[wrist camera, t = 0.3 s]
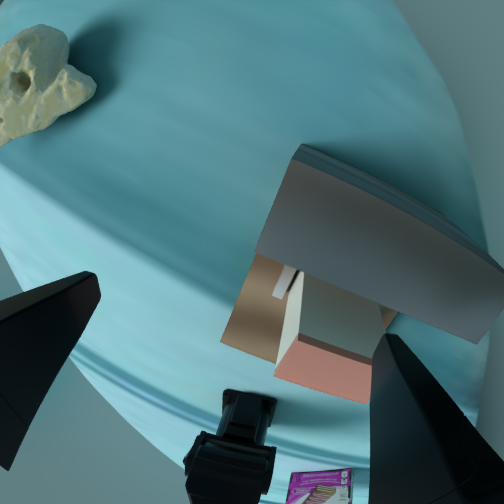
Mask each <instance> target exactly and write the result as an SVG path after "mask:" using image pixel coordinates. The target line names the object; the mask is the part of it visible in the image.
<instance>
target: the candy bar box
mask: <svg viewBox="0 0 504 504" xmlns="http://www.w3.org/2000/svg"><path fill="white" fill-rule="evenodd" d="M352 497H353V474H352V469H351V468H349V469H341V470H331V471H319V472H302V473H291V477H290V482H289V488H288V493H287V498H286V503H285V504H352Z"/></svg>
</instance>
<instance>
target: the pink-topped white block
mask: <svg viewBox="0 0 504 504" xmlns="http://www.w3.org/2000/svg"><path fill="white" fill-rule="evenodd" d="M385 333H386V330H385V326H384V323H383V319H382V316H381V312H380V309H379V305H378V303H376V302H374V301H371V300H369V299H366V298H364V297H362V296H359V295H357V294H354V293H352V292H350V291H347V290H345V289H342V288H340V287H338V286H335V285H333V284H330V283H328V282H326V281H323V280H321V279H318V278H316V277H314V276H311V275H309V274H306V273H304V272H302V271H299V272H298V274H297V276H296V278H295V280H294V282H293V283H292V285H291V287H290V289H289V295H288V301H287V307H286V313H285V319H284V324H283V330H282V335H281V341H280V346H279V352H278V357H277V362H276V367H275V372H274V377H277V378H280V379H283V380H286V381H289V382H292V383H295V384H298V385H301V386H304V387H307V388H310V389H313V390H317V391H320V392H323V393H327V394H330V395H333V396H337V397H340V398H344V399H348V400H351V401H355V402H359V403H363V404H366V403H367V402H368V401H369V400H370V391H371V373H372V357H373V353H374V351H375V349H376V347H377V345H378V343H379V341H380V339H381V337H382V335H383V334H385Z"/></svg>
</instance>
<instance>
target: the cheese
mask: <svg viewBox="0 0 504 504" xmlns="http://www.w3.org/2000/svg"><path fill="white" fill-rule="evenodd" d="M68 56H69V43H68V40H67V36H66V35H65V34H64V33H63V32H62V31H61V30H58V29H56V28H53V27H50V26H46V25H44V24H40V25H36V26H33V27H30V28H27V29H25V30H22V31H21V32H20V33H18V34H17V35H15V36H14V37H13V38H11V39H10V40H9V41H7V42H6V43H4V44H3V45H2V46H1V47H0V147H1V146H3V145H4V144H6V143H9V142H10V141H11V140H12V139H13V138H19V137H24V136H26V135H28V134H31V133H34V132H36V131H38V130H44V129H46V128H47V127H48V126H50V125H52V124H53V123H54V122H55V120H56V119H57V118H58V117H59V116H60V115H63V114H65V113H67V112H70V111H73V110H74V109H76V108H77V107H78V106H80V105H81V104H83V103H84V102H86V101H87V100H89V99H90V98H91V97H92V96H93V95H94V93H95V91H96V88H97V84H96V83H95V82H94V80H93V79H92V77H90V76H88V75H85V74H83V73H81V72H80V71H78V70H77V69H76V68H75V67H73V66H72V65H68V63H67V61H68Z"/></svg>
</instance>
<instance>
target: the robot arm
mask: <svg viewBox="0 0 504 504" xmlns="http://www.w3.org/2000/svg"><path fill="white" fill-rule="evenodd" d="M100 299H101V292H100V287H99V283H98V278H97V276H96V274H94V273H92V272H88V271H83V272H80V273H77V274H74V275H71V276H68V277H66V278H63V279H60V280H57V281H54V282H51V283H48V284H45V285H42V286H40V287H37V288H34V289H31V290H28V291H26V292H23V293H20V294H17V295H15V296H12V297H9V298H6V299H4V300H1V301H0V466H1V467H3V468H4V469H5V470H7V471H9V470H10V467H11V465H12V463H13V461H14V459H15V456H16V454H17V452H18V450H19V447H20V445H21V443H22V441H23V439H24V437H25V435H26V432H27V431H28V429H29V426H30V424H31V422H32V420H33V418H34V416H35V414H36V412H37V410H38V408H39V407H40V405H41V403H42V401H43V399H44V397H45V396H46V394H47V392H48V390H49V388H50V387H51V385H52V383H53V381H54V380H55V378H56V376H57V374H58V373H59V371H60V369H61V368H62V366H63V364H64V363H65V361H66V359H67V358H68V356H69V354H70V353H71V351H72V350H73V348H74V346H75V345H76V343H77V342H78V340H79V338H80V337H81V335H82V333H83V331H84V330H85V328H86V326H87V324H88V322H89V320H90V318H91V316H92V314H93V312H94V311H95V309H96V307H97V305H98V303H99V301H100ZM276 404H277V400H275V399H272V398H266V397H261V396H255V395H250V394H245V393H240V392H236V391H231V390H224V391H223V406H222V418H221V421H220V423H219V426H218V429H217V432H216V435H214V434H210V433H207V432H205V431H201V433H200V435H198V436H197V437H196V439H195V442H194V444H193V446H192V448H191V449H190V451H189V452H188V453H187V455H186V456H185V457H184V459H183V463H184V465H185V476H187V477H188V478H187V481H186V485H185V486H186V490H187V494H188V497H189V500H190V503H191V504H258V503H259V500H260V496H261V494H263V495H267V493H268V490H269V487H270V483H271V479H272V475H273V469H274V462H275V455H276V447H274V446H272V447H269V446H264V442H265V438H266V433H267V428H268V427H270V426H271V422H272V419H273V415H274V411H275V408H276ZM368 504H504V461H503V460H502V459H501V458H500V457H499V455H498V454H497V453H496V452H495V451H494V450H493V449H492V448H491V446H490V445H489V444H488V443H487V442H486V441H485V439H484V438H483V437H482V436H481V435H480V434H479V432H478V431H477V430H476V429H475V427H474V426H473V425H472V424H471V422H470V421H469V420H468V418H467V417H466V416H464V413H463V412H462V411H461V410H460V408H459V407H458V406H457V405H456V403H455V402H454V401H453V400H452V398H451V397H450V396H449V395H448V393H447V392H446V391H445V390H444V389H443V387H442V386H441V385H440V384H439V382H438V381H437V380H436V379H435V378H434V376H433V375H432V374H431V373H430V372H429V370H428V369H427V368H426V367H425V366H424V365H423V363H422V362H421V361H420V360H419V359H418V358H417V356H416V355H415V354H414V353H413V352H412V351H411V349H410V348H409V347H408V346H407V345H406V344H405V343H404V341H403V340H402V339H401V338H400V337H399V336H398V335H396V334H390V333H385V334H383V335H382V337H381V339H380V341H379V343H378V345H377V347H376V349H375V351H374V353H373V357H372V373H371V391H370V484H369V501H368Z"/></svg>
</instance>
